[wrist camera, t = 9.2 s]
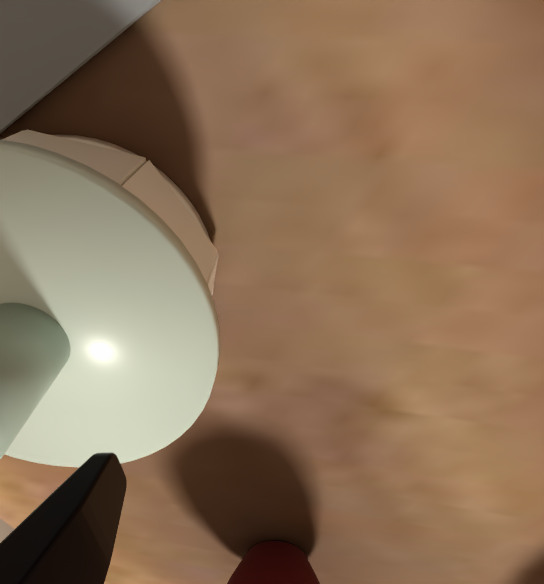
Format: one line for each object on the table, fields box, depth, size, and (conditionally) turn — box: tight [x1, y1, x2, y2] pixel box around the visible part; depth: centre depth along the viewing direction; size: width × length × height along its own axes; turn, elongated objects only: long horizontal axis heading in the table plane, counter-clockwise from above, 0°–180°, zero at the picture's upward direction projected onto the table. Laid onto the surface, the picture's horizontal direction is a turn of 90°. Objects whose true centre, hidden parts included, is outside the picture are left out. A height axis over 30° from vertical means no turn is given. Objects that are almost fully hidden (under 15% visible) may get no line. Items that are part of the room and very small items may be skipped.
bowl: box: [2, 130, 219, 295], centre depth 19 cm, size 11×11×5 cm
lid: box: [0, 140, 221, 467], centre depth 15 cm, size 13×13×5 cm
